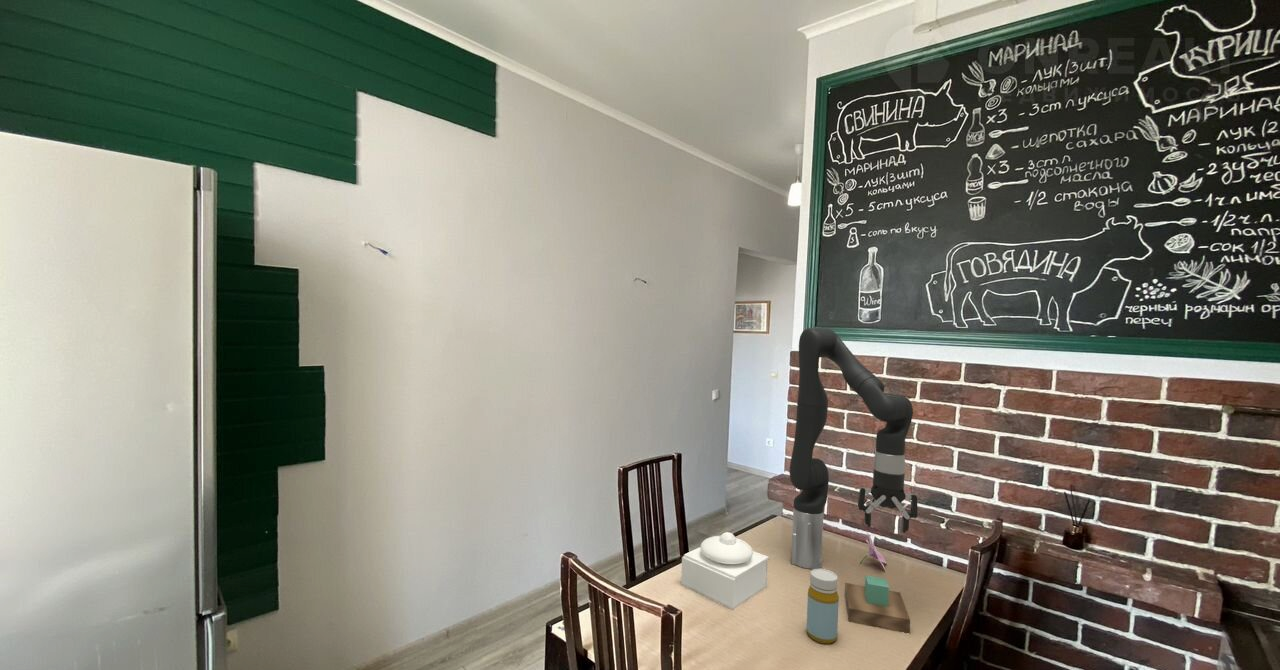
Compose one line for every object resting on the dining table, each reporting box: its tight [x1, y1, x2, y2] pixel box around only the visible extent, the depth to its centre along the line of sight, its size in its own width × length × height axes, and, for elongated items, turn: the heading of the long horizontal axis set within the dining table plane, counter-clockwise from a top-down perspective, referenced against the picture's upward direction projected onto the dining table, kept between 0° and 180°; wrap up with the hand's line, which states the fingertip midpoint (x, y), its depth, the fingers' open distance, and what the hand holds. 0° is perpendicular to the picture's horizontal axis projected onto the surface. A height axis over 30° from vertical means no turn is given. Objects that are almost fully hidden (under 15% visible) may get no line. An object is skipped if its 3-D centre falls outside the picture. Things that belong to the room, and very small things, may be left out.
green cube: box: [864, 575, 890, 607], centre depth 133 cm, size 5×5×5 cm
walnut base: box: [844, 582, 911, 634], centre depth 133 cm, size 14×14×4 cm
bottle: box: [806, 568, 840, 645], centre depth 122 cm, size 7×7×15 cm
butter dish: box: [680, 531, 770, 611], centre depth 144 cm, size 18×18×16 cm
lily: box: [859, 530, 887, 572], centre depth 161 cm, size 12×12×10 cm
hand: (885, 528), depth 135 cm, fingers open, 8 cm apart
